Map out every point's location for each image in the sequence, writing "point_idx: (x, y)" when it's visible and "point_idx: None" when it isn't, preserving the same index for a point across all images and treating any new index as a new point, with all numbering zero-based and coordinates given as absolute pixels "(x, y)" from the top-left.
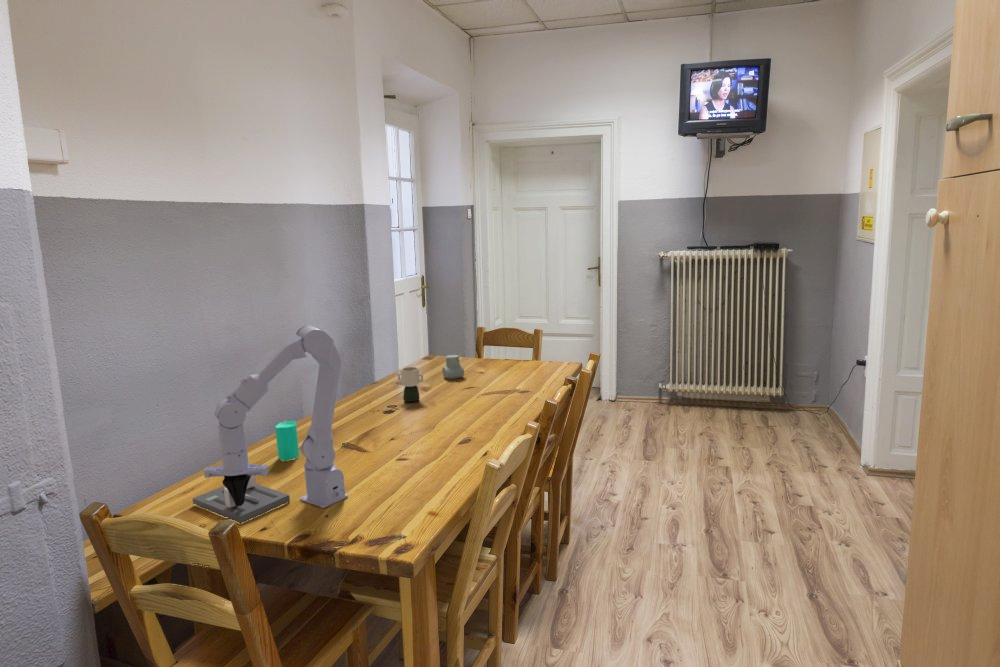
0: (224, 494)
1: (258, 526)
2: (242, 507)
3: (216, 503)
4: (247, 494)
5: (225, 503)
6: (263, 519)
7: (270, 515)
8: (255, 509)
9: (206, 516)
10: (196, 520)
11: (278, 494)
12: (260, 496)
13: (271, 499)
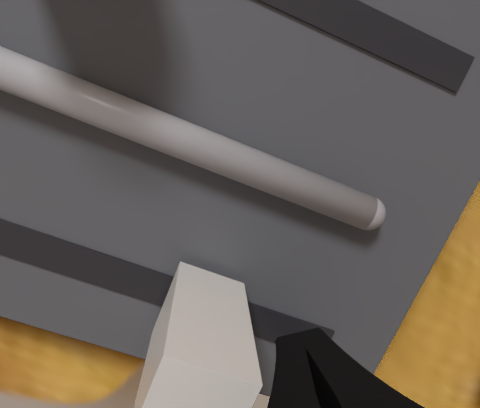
0: (136, 402)
1: (448, 372)
2: (285, 300)
3: (17, 276)
4: (165, 62)
5: (150, 343)
6: (437, 296)
7: (457, 242)
8: (402, 309)
9: (31, 329)
10: (11, 385)
11: (465, 19)
12: (317, 87)
13: (447, 130)
